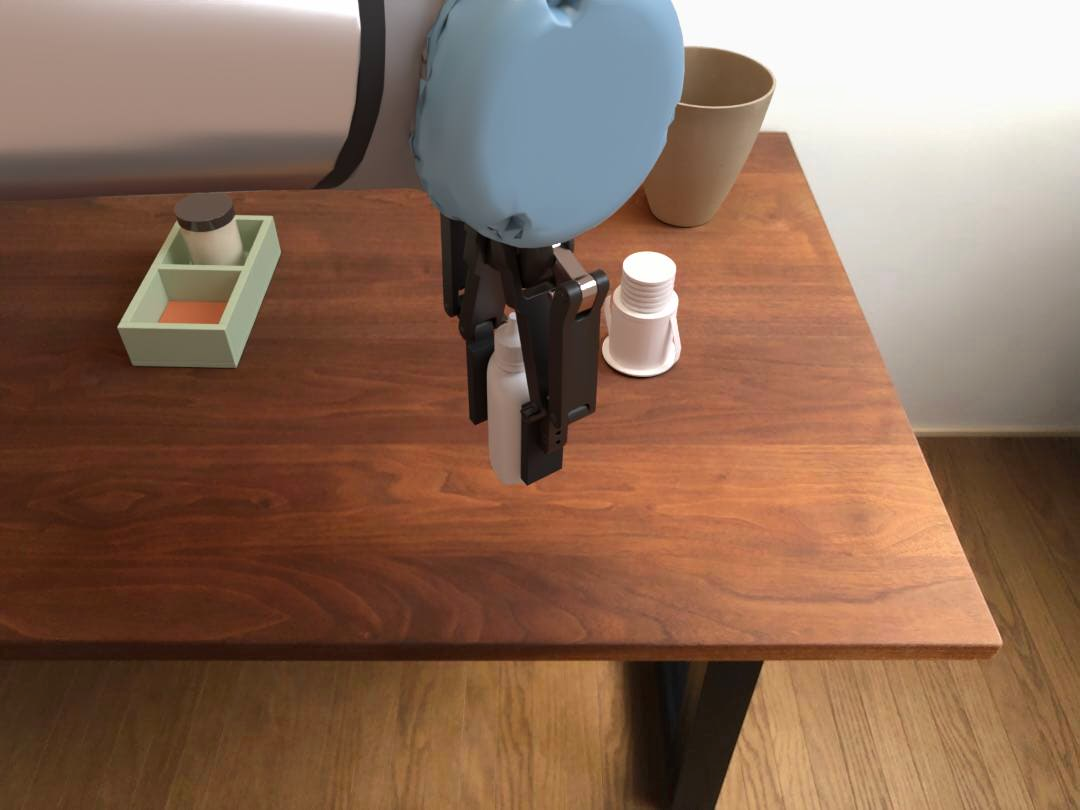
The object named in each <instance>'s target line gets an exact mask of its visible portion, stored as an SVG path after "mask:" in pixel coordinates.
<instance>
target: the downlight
mask: <svg viewBox="0 0 1080 810" xmlns="http://www.w3.org/2000/svg"><path fill="white" fill-rule="evenodd" d="M621 272H622V273H621V282H620V284H619V285H618V286H617V287H616V288H615V290H613V294H609V295H608V296H606V298H605V301H604V304H603V314H604V318H605V323H606V327H607V332H608V335H607V336H606V337H605V338H604V340H603V342H602V347H601V352H602V356H603V359H604V360H605V361H606V363H607V364H608V365H609V366H610V367H611V368H613V369H614V370H616V371H618V372H620V373H621V374H625V375H627V376H632V377H641V378H643V377H653V376H657V375H661V374H663V373H665V372H667V371H668V370H669V369H671V368H672V366H674V365H675V364H676V362H678V360H680V357H681V351H682V344H681V338H680V332H679V327H678V319H677V314H678V308H679V296H678V294H677V292H676V291H675V290H674V287H675V279H676V273H677V266H676V263H675V262H674V260H672V259H671V258H670V257H669V256H667V255H665V254H663V253H661V252H657V251H656V252H655V251H638V252H635V253H632V254H629V255H627V257H625V259H624V261H623V263H622V271H621ZM611 296H613V297H612V307H610V306H611V305H610V304H611Z"/></svg>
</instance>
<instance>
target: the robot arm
mask: <svg viewBox="0 0 1080 810" xmlns="http://www.w3.org/2000/svg"><path fill="white" fill-rule="evenodd" d="M681 27H682V26H681V23H680V20H679V16H678V13H677V10H676V8H675V6H674V4H673V1H672V0H0V202H1V203H3V202H5V203H7V202H26V201H31V202H32V201H52V200H78V199H96V198H97V199H100V198H101V199H102V198H124V197H126V198H127V197H152V196H153V197H154V196H176V195H192V194H203V193H223V194H227V193H228V194H229V193H248V192H249V193H252V192H271V191H273V192H275V191H313V190H314V191H315V190H316V191H317V190H337V191H367V190H387V189H388V190H390V189H411V190H416V191H417V190H418V191H422V192H425V193H426V195H427V197H429V201H430V204H431V205H432V206H433V207H435V209H436V210H437V211H439V219H440V221H439V223H440V244H441V246H440V247H441V276H442V277H441V278H442V301H443V310H444V312H445V314H446V315H447V316H448V317H449V318H454V317H457V319H458V327H457V329H458V332H459V335H460V337H461V338H462V339H463V340H464V341H465V352H466V353H465V355H466V375H467V376H466V377H467V397H468V419H469V420H470V421H471V423H472V424H473V425H474V426H477V425H480V424H481V423H485V422H487V421H488V402H487V368H488V363H489V360H490V358H491V356H492V354H493V352H494V351H495V341H494V335H495V331H496V330H497V329H498V328H499V327H500V326H501V325H503V324H506V323H507V322H508V318H509V317H508V316H507V314H506V313H505V309H506V306H507V307H508V308H510V309H511V310H514V312H515V314H516V320H517V326H518V332H519V338H520V344H521V350H522V356H523V362H524V368H525V374H526V380H527V386H528V392H529V398H530V401H529V402H527V403H525V404H523V405H521V410H520V413H521V479H522V481H523V482H524V483H525V484H524V485H526V487H527V486H530V485H532V484H534V483H536V482H538V481H540V480H543V479H544V478H546V477H548V476H550V475H552V474H555V473H556V472H558V471H560V470H562V469H563V460H564V447H565V446H566V445H567V443H568V436H569V435H568V434H569V425H572V424H574V423H575V422H577V421H580V420H582V419H585V418H586V417H588V416H590V415H593V414H594V413H595V412H596V410H597V394H598V393H597V392H598V374H599V355H600V354H599V353H600V336H601V335H600V332H601V318H602V317H601V316H602V315H601V314H602V308H603V307H604V304H605V299H606V298H607V297H608V296H607V295H608V294H609V291H610V286H611V283H610V279H609V276H608V275H607V273H606V272H605V271H604V269H601V268H598V269H596V270H593V271H590V272H587V271H586V269H585V268H584V267H583V265H582V264H581V262H580V261H579V260H578V258H577V257H576V256H575V254H574V252H575V248H576V242H575V238H577V237H579V236H580V235H583V234H584V233H587V232H588V231H590V230H592V229H594V228H596V227H598V226H599V225H601V224H602V223H604V222H605V221H606V220H607V219H609V218H610V217H612V216H613V215H614V214H615V213H616V212H617V211H618V210H619V209H621V208H622V207H623V206H624V205H625V204H626V203H627V202H628V201H629V199H631V198H632V196H633V195H634V194H635V193H636V192H637V191H638V189H639V188H640V187H641V186H642V184H643V182H644V180H645V179H646V177H647V176H648V174H649V173H650V171H651V170H652V168H653V166H654V164H655V163H656V161H657V159H658V158H659V156H660V154H661V152H662V150H663V148H664V146H665V144H666V138H667V131H668V127H669V125H670V124H671V123H672V121H673V120H674V114H675V107H676V105H677V104H678V102H679V101H680V99H681V94H682V89H683V80H684V71H685V65H684V46H685V44H684V36H683V31H682V28H681ZM463 290H464V291H463ZM460 291H463V292H461V293H460Z"/></svg>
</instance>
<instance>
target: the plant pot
mask: <svg viewBox="0 0 1080 810" xmlns="http://www.w3.org/2000/svg"><path fill="white" fill-rule="evenodd" d="M684 65H685V71H684V80H683V89H682V94H681V99H680V101H679V102H678V104H677V105H676V107H675V114H674V120H673V121H672V123H671V124H670V125H669V127H668V131H667V138H666V144H665V146H664V148H663V150H662V152H661V154H660V156H659V158H658V159H657V161H656V163H655V164H654V166H653V168H652V170H651V171H650V173H649V174H648V176H647V177H646V179H645V180H644V182H643V183H642V184H643V188H644V191H645V196H646V199H647V202H648V205H649V209H650V211H651V214H652V215H653V216H654V217H655V218H656V219H657V220H660V221H661V222H663V223H666V224H669V225H671V226H675V227H683V228H684V227H686V228H690V227H692V228H693V227H699V226H702V225H704V224H707V223H708V222H710V221H711V220H712V219H714V217H715V215H716V213H717V212H718V210H719V209H720V208H721V206H722V205H723V203H724V201H725V200H726V198H727V196H728V195H729V193H730V191H731V190H732V188H733V186H734V184H735V183H736V181H737V179H738V178H739V175H740V174H741V171H742V169H743V168H744V166H745V164H746V161H747V160H748V158H749V155H750V153H751V151H752V149H753V147H754V145H755V143H756V140H757V138H758V135H759V133H760V131H761V128H762V126H763V124H764V120H765V118H766V115H767V112H768V110H769V107H770V104H771V102H772V98H773V95H774V93H775V91H776V87H777V78H776V76H775V74H774V73H773V72H772V70H771V69H770V68H769V67H768V66H766V65H764V64H763V63H762V62H761V61H759V60H756V59H755V58H753V57H751V56H748V55H745V54H743V53H740V52H737V51H733V50H730V49H725V48H720V47H711V46H703V45H684Z"/></svg>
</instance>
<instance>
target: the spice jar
mask: <svg viewBox="0 0 1080 810" xmlns="http://www.w3.org/2000/svg"><path fill="white" fill-rule="evenodd" d="M173 209H174V210H173V211H174V215H175V218H176V221H177V222H178V224H179V225H180V228H181V231H182V234H183V237H184V240H185V243H186V247H187V250H188V253H189V256H190V259H191V263H192V265H225V266H244V264H245V262H246V256H245V252H244V248H243V244H242V241H241V237H240V233H239V229H238V225H237V221H236V218H235V215H236V210H235V206H234V202H233V199H232V198H231V197H230V196H229V195H228V194H227V193H203V194H188V195H187V196H185V197H183V198H182V199H180V200H179V201H178V202H177V203H176V204H175V206H174V208H173Z"/></svg>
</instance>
